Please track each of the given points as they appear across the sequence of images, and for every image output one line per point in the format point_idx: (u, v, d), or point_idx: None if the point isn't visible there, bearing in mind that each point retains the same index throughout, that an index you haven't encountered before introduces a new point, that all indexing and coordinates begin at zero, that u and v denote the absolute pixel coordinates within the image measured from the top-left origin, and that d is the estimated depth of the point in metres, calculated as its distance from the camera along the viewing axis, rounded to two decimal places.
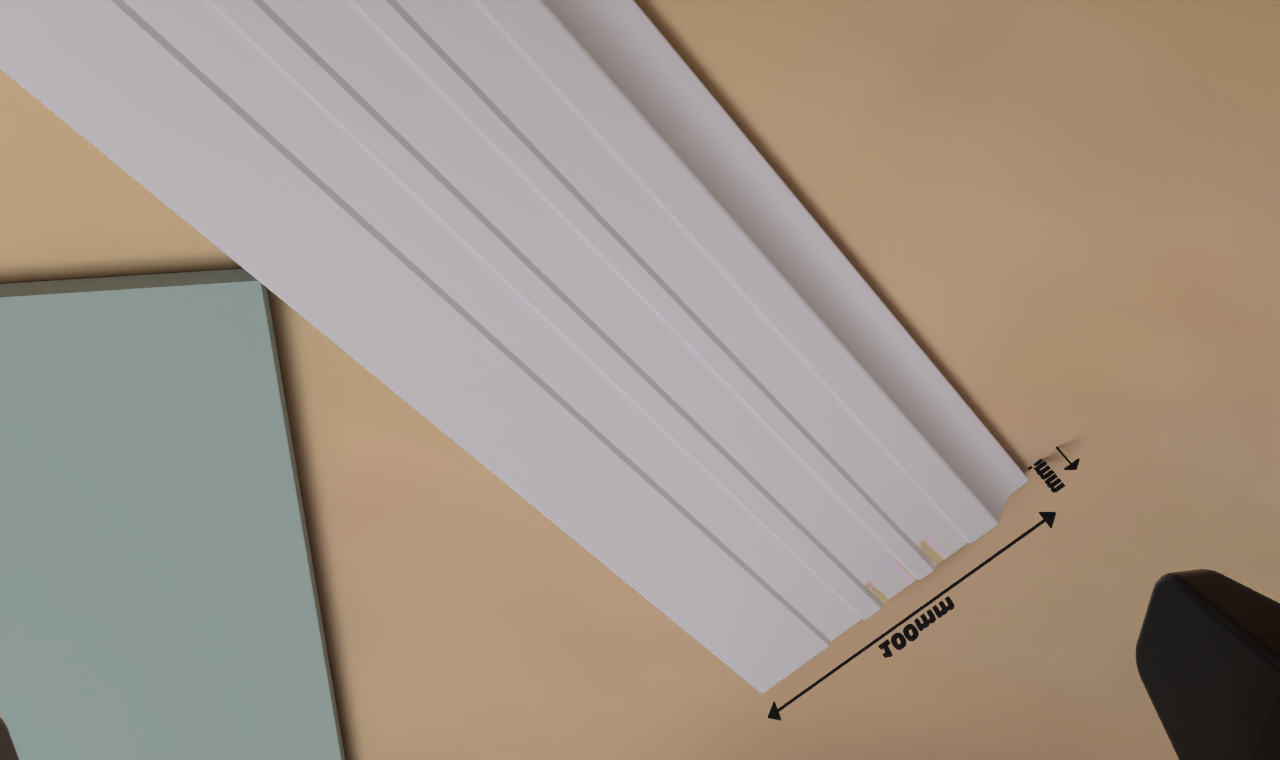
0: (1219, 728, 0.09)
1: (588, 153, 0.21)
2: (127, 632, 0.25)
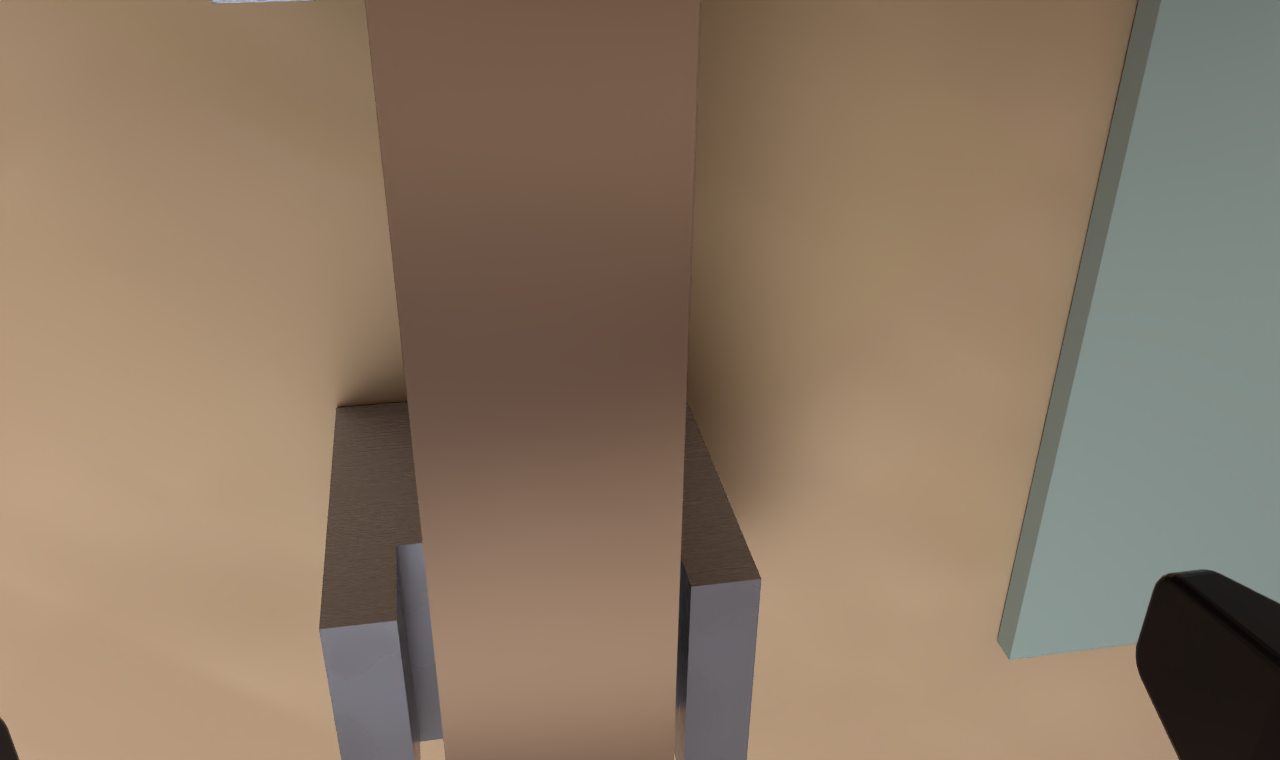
0: (1219, 728, 0.09)
1: None
2: (1244, 282, 0.21)
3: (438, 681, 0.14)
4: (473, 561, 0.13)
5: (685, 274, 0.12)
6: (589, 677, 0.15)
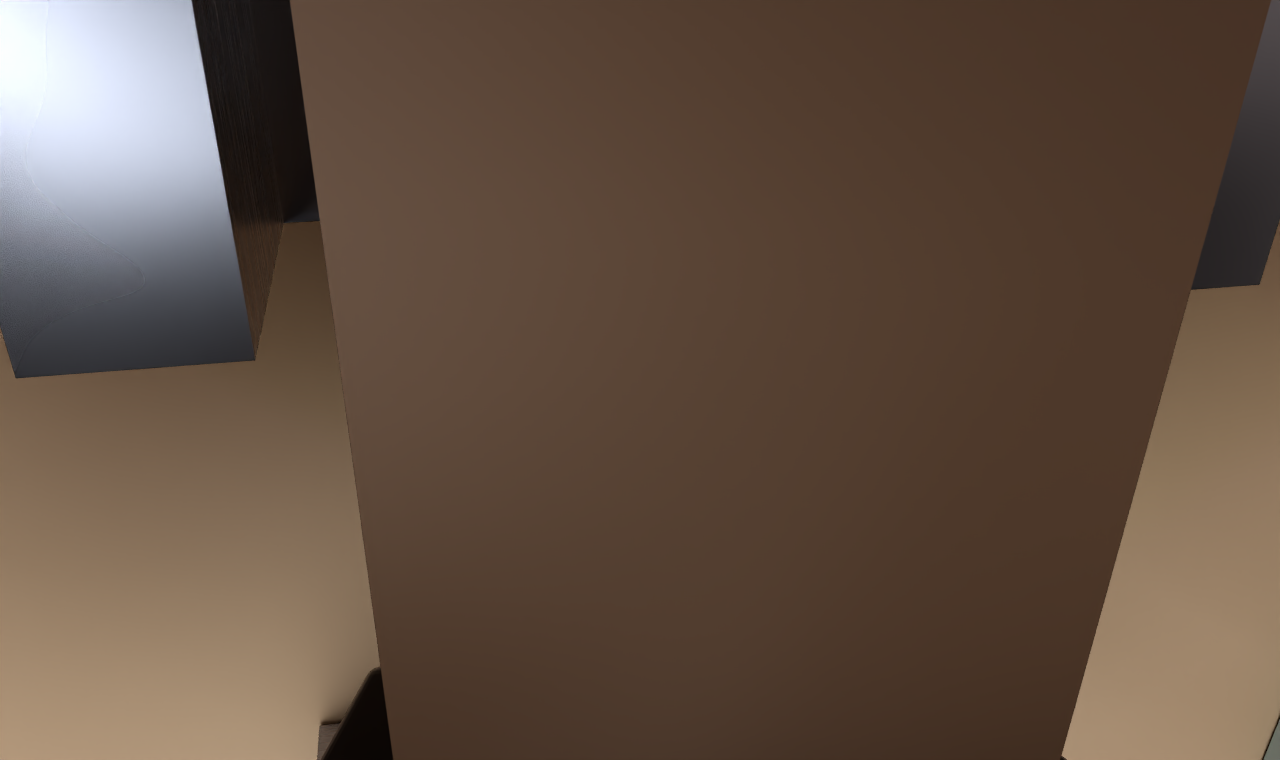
0: None
1: None
2: None
3: None
4: None
5: None
6: None
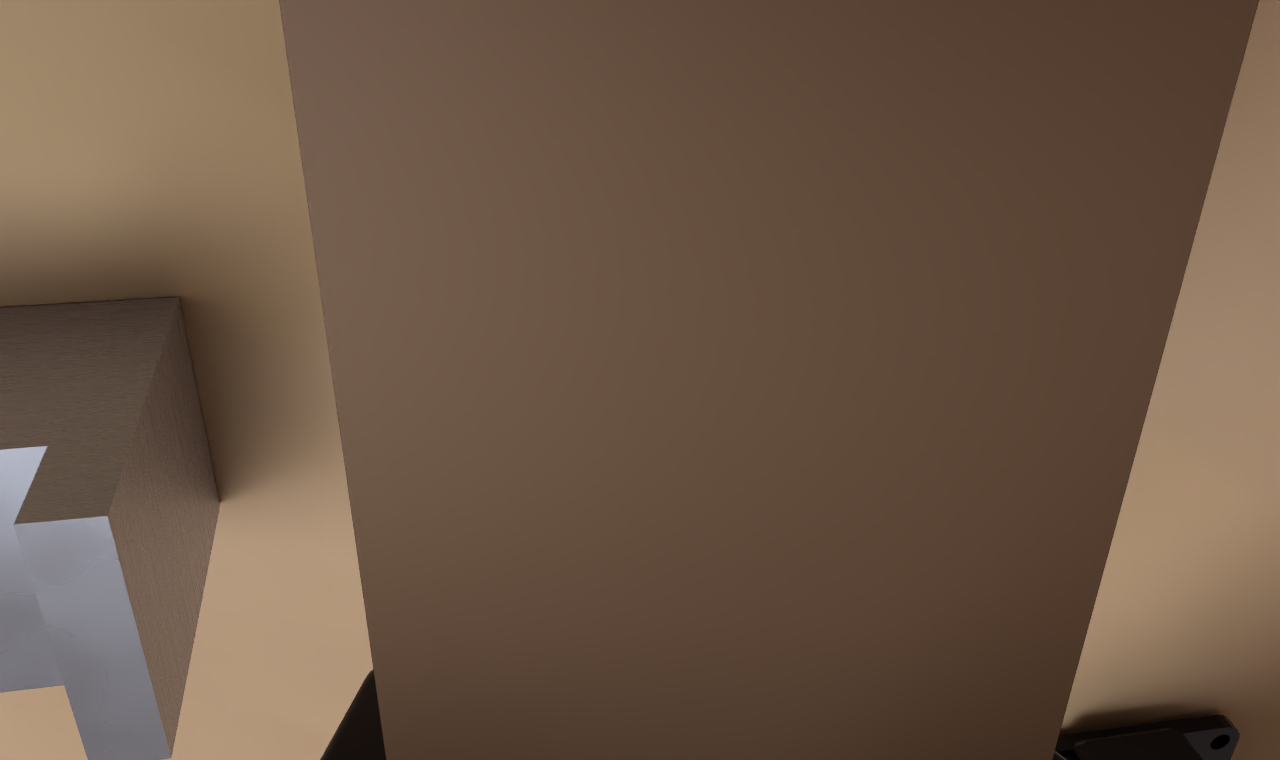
0: None
1: None
2: None
3: None
4: None
5: None
6: None
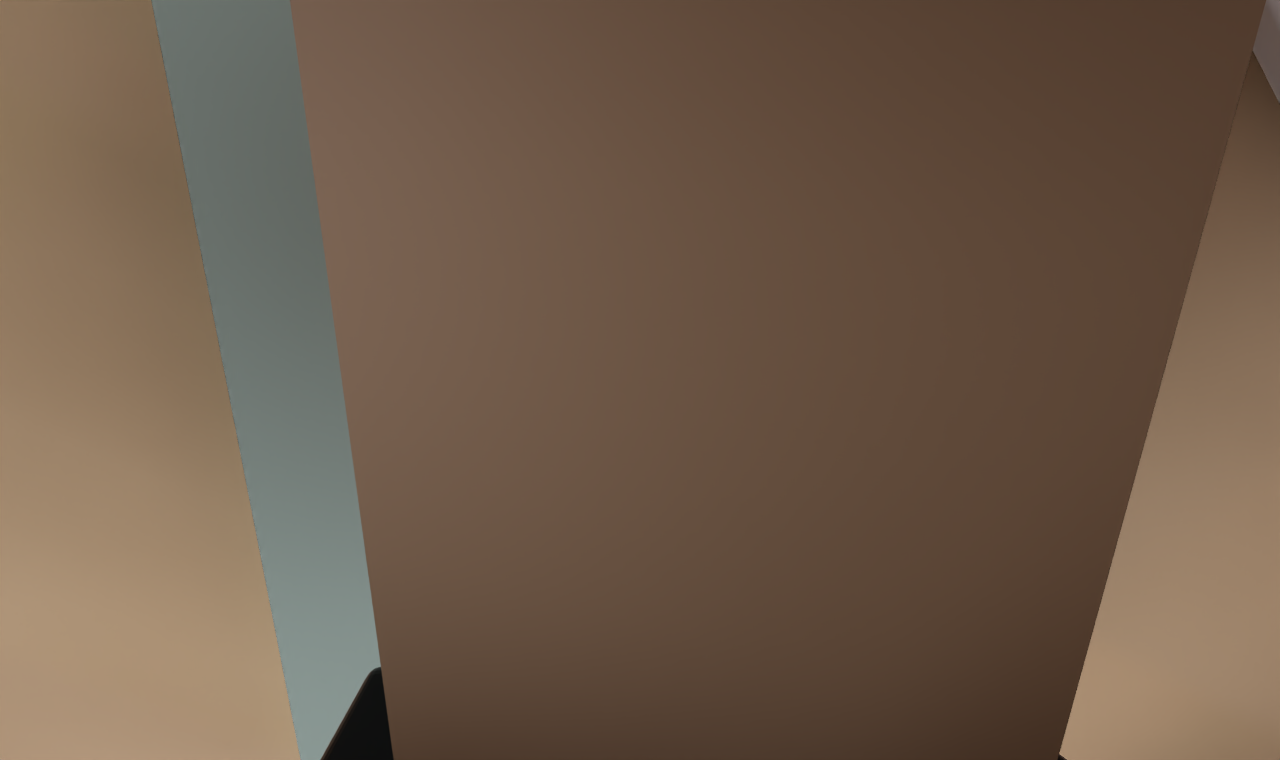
0: None
1: None
2: None
3: None
4: None
5: None
6: None
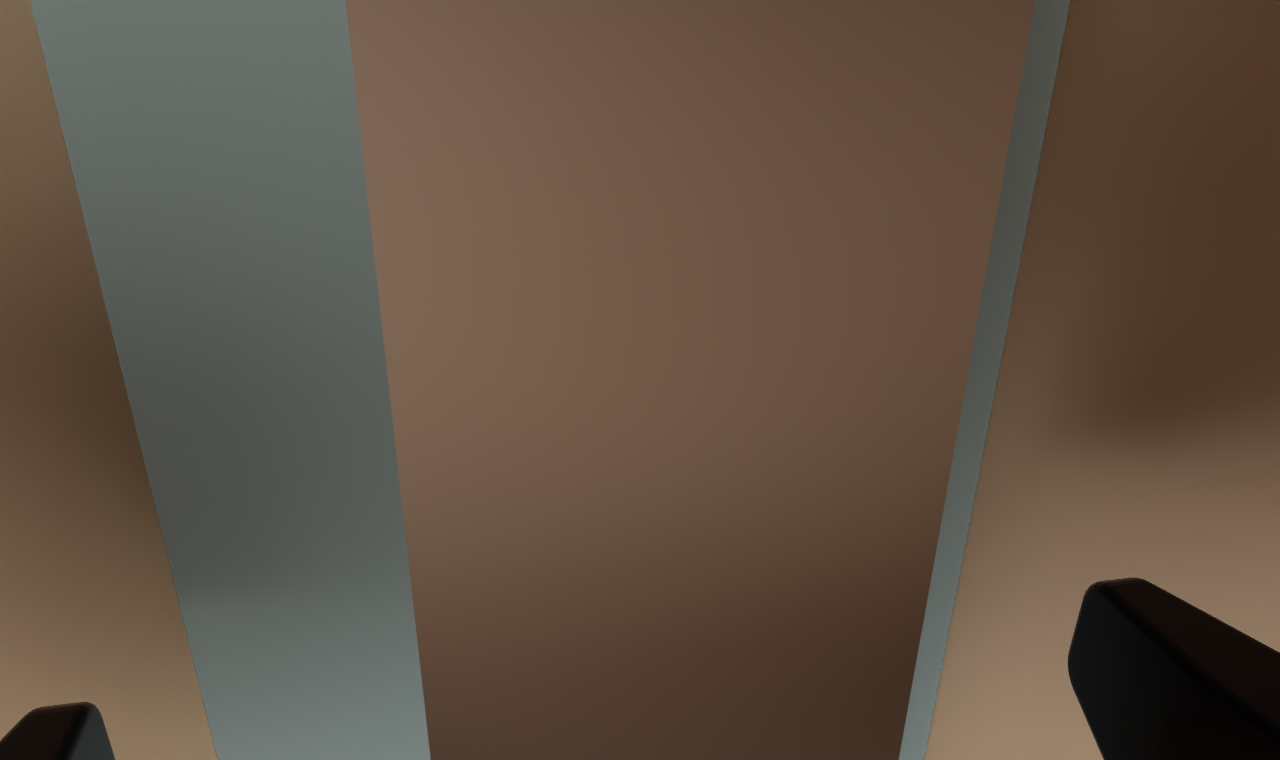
0: (1145, 739, 0.09)
1: None
2: None
3: None
4: None
5: (910, 656, 0.07)
6: None
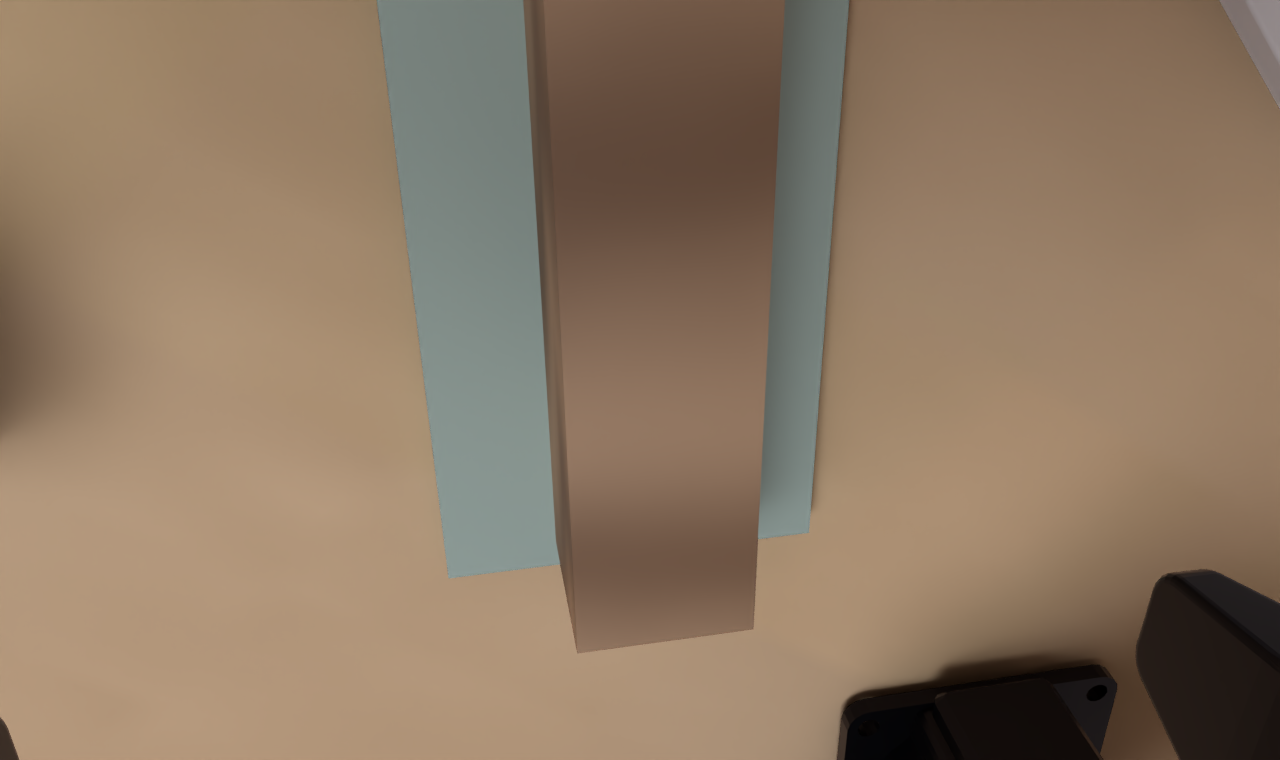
0: (1219, 728, 0.09)
1: None
2: None
3: (567, 441, 0.17)
4: (600, 330, 0.16)
5: (777, 72, 0.15)
6: (690, 442, 0.18)
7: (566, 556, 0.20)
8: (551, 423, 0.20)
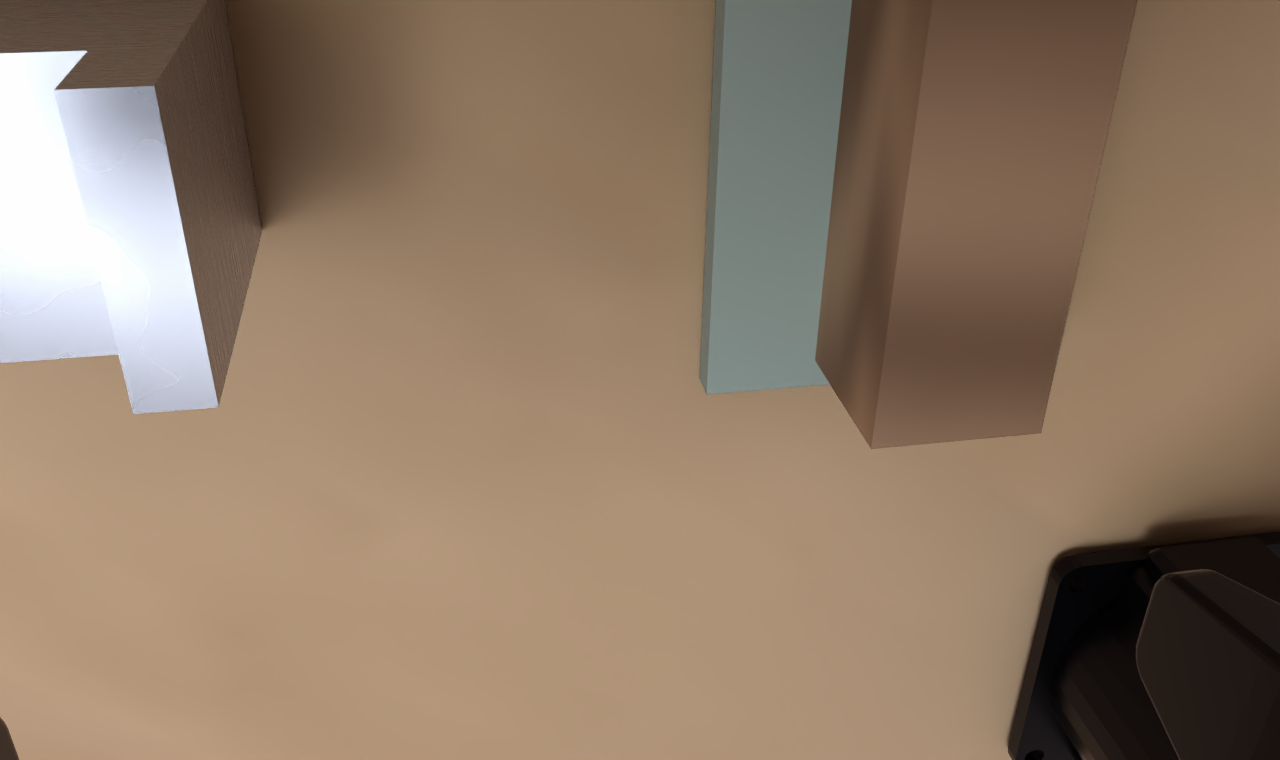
0: (1219, 729, 0.09)
1: None
2: None
3: (905, 208, 0.17)
4: (958, 86, 0.16)
5: None
6: (1019, 218, 0.17)
7: (857, 354, 0.19)
8: (840, 222, 0.20)
